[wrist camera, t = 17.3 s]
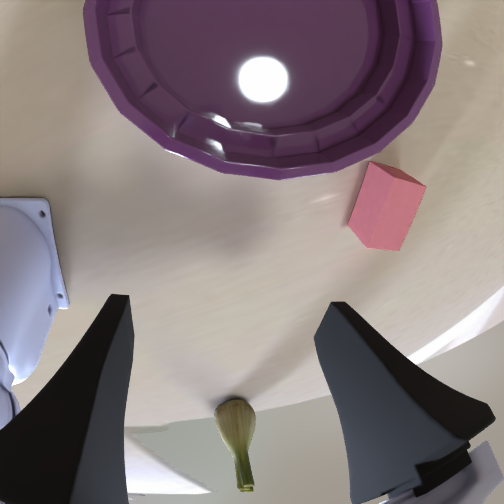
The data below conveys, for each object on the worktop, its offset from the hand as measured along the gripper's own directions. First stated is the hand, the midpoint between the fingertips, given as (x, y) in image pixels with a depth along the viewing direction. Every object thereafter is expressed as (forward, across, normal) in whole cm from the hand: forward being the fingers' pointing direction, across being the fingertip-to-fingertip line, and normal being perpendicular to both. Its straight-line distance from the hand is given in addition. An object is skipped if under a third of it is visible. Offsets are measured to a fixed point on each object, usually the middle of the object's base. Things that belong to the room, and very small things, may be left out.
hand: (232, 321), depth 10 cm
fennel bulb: (+10, -5, +26) cm, 28 cm away
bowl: (+9, -1, -12) cm, 15 cm away
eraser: (+9, -11, -2) cm, 15 cm away
